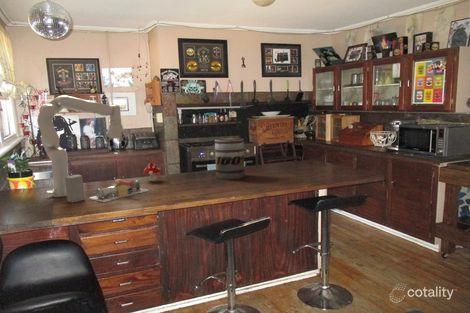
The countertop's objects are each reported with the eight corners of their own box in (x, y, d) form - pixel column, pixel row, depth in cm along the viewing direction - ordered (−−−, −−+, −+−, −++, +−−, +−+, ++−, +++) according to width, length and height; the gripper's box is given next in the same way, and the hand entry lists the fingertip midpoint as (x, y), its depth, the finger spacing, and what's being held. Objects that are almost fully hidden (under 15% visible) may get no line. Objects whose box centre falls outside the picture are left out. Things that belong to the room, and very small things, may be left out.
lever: (114, 184, 233) (113, 179, 233) (119, 182, 237) (119, 178, 236) (130, 186, 223) (130, 181, 223) (136, 185, 227) (136, 180, 226)
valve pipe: (103, 202, 217) (103, 191, 216) (89, 199, 226) (88, 188, 225) (148, 191, 244) (147, 180, 243) (133, 188, 253) (133, 178, 252)
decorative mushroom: (159, 183, 268) (158, 163, 266) (141, 183, 269) (139, 163, 267) (163, 179, 282) (162, 160, 280) (146, 179, 283) (144, 161, 281)
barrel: (223, 181, 269) (222, 141, 265) (211, 176, 289) (210, 139, 285) (249, 177, 280) (249, 139, 275) (236, 173, 299) (235, 137, 295)
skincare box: (79, 198, 228) (77, 174, 226) (85, 200, 224) (83, 175, 221) (66, 201, 222) (64, 176, 219) (72, 203, 217) (69, 177, 215)
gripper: (102, 122, 257) (103, 146, 260) (122, 122, 252) (124, 146, 255) (108, 122, 264) (110, 145, 267) (129, 122, 259) (130, 145, 262)
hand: (117, 146), depth 261 cm, fingers open, 9 cm apart
